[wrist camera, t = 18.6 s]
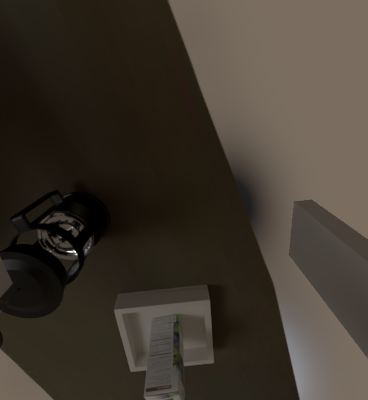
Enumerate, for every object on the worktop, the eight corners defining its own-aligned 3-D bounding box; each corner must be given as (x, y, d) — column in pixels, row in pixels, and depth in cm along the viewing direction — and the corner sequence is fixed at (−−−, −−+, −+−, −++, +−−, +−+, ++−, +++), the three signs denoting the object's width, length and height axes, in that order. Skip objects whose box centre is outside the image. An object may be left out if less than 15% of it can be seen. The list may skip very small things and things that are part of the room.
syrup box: (183, 332, 52) (187, 412, 38) (157, 337, 52) (151, 419, 39) (178, 313, 50) (180, 391, 36) (150, 318, 50) (142, 398, 36)
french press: (120, 234, 42) (57, 366, 21) (74, 250, 44) (-30, 391, 22) (87, 174, 38) (-34, 263, 17) (37, 194, 40) (-134, 300, 18)
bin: (133, 353, 55) (130, 371, 51) (118, 293, 48) (113, 309, 44) (211, 345, 55) (213, 362, 52) (207, 284, 48) (209, 299, 45)
